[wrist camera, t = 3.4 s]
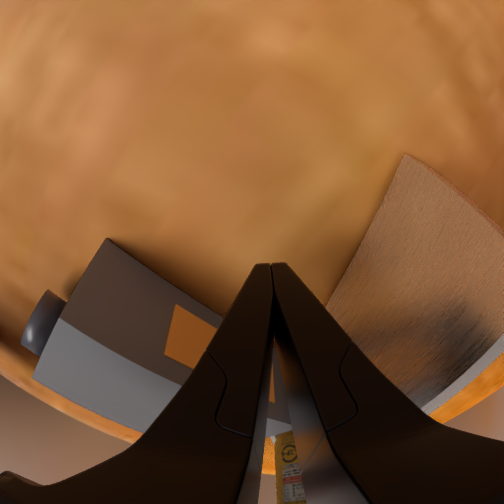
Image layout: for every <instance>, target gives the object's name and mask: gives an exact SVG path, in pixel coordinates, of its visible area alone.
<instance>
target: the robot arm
mask: <svg viewBox="0 0 504 504" xmlns="http://www.w3.org/2000/svg"><path fill="white" fill-rule="evenodd" d="M274 338H275V344H276V350H277V355H278V360H279V365H280V370H281V375H282V380H283V385H284V390H285V395H286V400H287V405H288V410H289V415H290V420H291V426H292V431H293V436H294V441H295V446H296V451H297V456H298V462H299V467H300V472H301V477H302V483H303V488H304V493H305V498H306V504H504V441H500V440H495V439H491V438H487V437H483V436H479V435H476V434H472V433H468V432H465V431H461V430H458V429H454V428H451V427H448V426H445V425H443V424H441V423H439V422H437V421H435V420H434V419H432V418H431V417H430V416H428V415H427V414H426V413H425V412H423V411H422V410H421V409H420V408H419V407H418V406H417V405H416V404H415V403H414V402H413V401H412V400H410V399H409V398H408V397H407V396H406V395H405V394H404V393H403V392H402V391H401V390H400V389H399V388H398V387H397V386H395V385H394V384H393V383H392V382H391V381H390V380H389V379H388V378H387V377H386V376H385V375H384V374H383V373H382V372H381V371H380V370H379V369H378V368H377V367H376V366H375V365H374V364H373V363H372V362H371V361H370V359H369V358H368V357H367V356H366V355H365V354H364V353H363V352H362V351H361V349H360V348H359V347H358V346H357V345H356V343H355V342H352V339H351V338H350V336H349V335H348V334H347V333H346V332H345V331H344V329H343V328H342V327H341V326H340V325H339V323H338V322H337V321H336V320H335V319H334V318H333V316H332V315H331V314H330V313H329V312H328V311H327V309H326V308H325V307H324V306H323V305H322V304H321V303H320V301H319V300H318V299H317V298H316V297H315V296H314V294H313V293H312V292H311V291H310V290H309V289H308V287H307V286H306V285H305V284H304V283H303V282H302V281H301V279H300V278H299V277H298V276H297V275H296V274H295V273H294V271H293V270H292V269H291V268H290V267H289V266H288V265H287V263H285V262H280V263H272V264H271V265H270V264H269V263H261V264H256V265H255V266H254V267H253V269H252V271H251V273H250V274H249V276H248V278H247V279H246V281H245V283H244V285H243V286H242V288H241V290H240V291H239V293H238V295H237V297H236V298H235V300H234V302H233V303H232V305H231V307H230V309H229V310H228V312H227V314H226V315H225V317H224V319H223V321H222V322H221V324H220V326H219V327H218V329H217V331H216V333H215V334H214V336H213V338H212V339H211V341H210V343H209V344H208V346H207V348H206V351H204V353H203V354H202V356H201V358H200V359H199V361H198V363H197V364H196V366H195V368H194V369H193V371H192V372H191V374H190V375H189V377H188V378H187V380H186V381H185V383H184V384H183V385H182V387H181V388H180V389H179V391H178V392H177V393H176V394H175V396H174V397H173V398H172V400H171V401H170V402H169V403H168V404H167V406H166V407H165V408H164V409H163V411H162V412H161V413H160V414H159V416H158V417H157V418H156V419H155V420H154V422H153V423H152V424H151V425H150V427H149V428H148V429H147V430H146V431H145V433H144V434H143V435H142V436H141V437H140V438H139V439H138V440H137V441H136V442H135V443H134V444H133V445H132V446H130V447H129V448H128V449H126V450H125V451H123V452H122V453H120V454H118V455H116V456H114V457H112V458H110V459H108V460H106V461H104V462H102V463H100V464H98V465H96V466H94V467H92V468H90V469H87V470H85V471H83V472H81V473H79V474H76V475H74V476H72V477H70V478H67V479H65V480H62V481H60V482H57V483H54V484H51V485H45V486H43V485H41V484H38V483H36V482H34V481H31V480H29V479H27V478H24V477H22V476H20V475H17V474H15V473H13V472H10V471H5V472H3V473H1V474H0V504H258V496H259V487H260V480H261V471H262V463H263V454H264V444H265V435H266V425H267V415H268V404H269V394H270V383H271V371H272V359H273V346H274Z"/></svg>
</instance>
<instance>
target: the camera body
mask: <svg viewBox="0 0 504 504" xmlns="http://www.w3.org/2000/svg"><path fill="white" fill-rule="evenodd" d="M223 319H224V318H223V317H222V316H220V315H219V314H217V313H215V312H214V311H212V310H211V309H209V308H207V307H206V306H204V305H203V304H201V303H199V302H198V301H196V300H195V299H193V298H192V297H190V296H189V295H187V294H186V293H184V292H182V291H181V290H179V289H178V288H176V287H175V286H173V285H172V284H170V283H169V282H167V281H166V280H164V279H163V278H161V277H160V276H159V275H157V274H156V273H154V272H153V271H151V270H150V269H148V268H147V267H145V266H144V265H143V264H141V263H140V262H138V261H137V260H136V259H134V258H133V257H131V256H130V255H129V254H127V253H126V252H124V251H123V250H122V249H120V248H119V247H117V246H116V245H115V244H113V243H112V242H111V241H109V240H108V239H107V238H106V239H105V240H104V242H103V243H102V245H101V246H100V248H99V250H98V251H97V253H96V254H95V256H94V257H93V259H92V261H91V262H90V264H89V265H88V267H87V269H86V270H85V272H84V274H83V275H82V277H81V279H80V281H79V282H78V284H77V286H76V287H75V289H74V291H73V293H72V294H71V296H70V298H69V300H68V302H65V301H64V300H62V299H61V298H60V297H58V296H57V295H55V294H54V293H53V292H51V291H50V290H49V289H48V290H47V291H46V292H45V293H44V295H43V296H42V298H41V299H40V301H39V303H38V304H37V306H36V308H35V310H34V311H33V313H32V315H31V317H30V319H29V321H28V324H27V326H26V328H25V330H24V333H23V336H22V338H21V342H20V344H21V345H23V346H24V347H26V348H27V349H29V350H30V351H31V352H33V353H34V354H36V355H37V356H39V357H40V359H39V362H38V364H37V366H36V369H35V371H34V374H33V376H32V378H33V379H35V380H36V381H38V382H39V383H41V384H43V385H44V386H46V387H47V388H49V389H51V390H53V391H54V392H56V393H58V394H60V395H61V396H63V397H65V398H67V399H69V400H70V401H72V402H74V403H76V404H78V405H80V406H82V407H84V408H86V409H88V410H90V411H92V412H94V413H96V414H99V415H101V416H103V417H105V418H107V419H110V420H112V421H114V422H116V423H119V424H121V425H124V426H126V427H129V428H131V429H134V430H136V431H139V432H142V433H145V431H146V430H147V429H148V428H149V427H150V425H151V424H152V423H153V422H154V420H155V419H156V418H157V417H158V416H159V414H160V413H161V412H162V411H163V409H164V408H165V407H166V406H167V404H168V403H169V402H170V401H171V400H172V398H173V397H174V396H175V394H176V393H177V392H178V391H179V389H180V388H181V387H182V385H183V384H184V383H185V381H186V380H187V378H188V377H189V375H190V374H191V372H192V371H193V369H194V368H195V366H196V364H197V363H198V361H199V359H200V358H201V356H202V354H203V353H204V351H206V348H207V346H208V344H209V343H210V341H211V339H212V338H213V336H214V334H215V333H216V331H217V329H218V327H219V326H220V324H221V322H222V321H223ZM290 430H292V426H291V420H290V415H289V410H288V405H287V400H286V395H285V390H284V385H283V380H282V375H281V370H280V365H279V360H278V355H277V350H276V348H274V347H273V359H272V371H271V383H270V394H269V404H268V415H267V425H266V435H265V438H267V437H271V436H274V435H278V434H281V433H284V432H287V431H290Z"/></svg>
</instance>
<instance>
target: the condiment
mask: <svg viewBox="0 0 504 504" xmlns="http://www.w3.org/2000/svg"><path fill="white" fill-rule="evenodd" d="M270 438H271V440H272V442H273V443H274V445H275V470H276V486H277V487H276V488H277V504H306V498H305V493H304V488H303V483H302V477H301V472H300V467H299V462H298V456H297V451H296V446H295V441H294V436H293V431H292V430H290V431H287V432H284V433H281V434H278V435H274V436H271V437H270Z"/></svg>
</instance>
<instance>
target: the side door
mask: <svg viewBox="0 0 504 504" xmlns="http://www.w3.org/2000/svg"><path fill="white" fill-rule="evenodd" d="M325 308H326V309H327V311H328V312H329V313H330V314H331V315H332V316H333V318H334V319H335V320H336V321H337V322H338V323H339V325H340V326H341V327H342V328H343V329H344V331H345V332H346V333H347V334H348V335H349V336H350V338H351V339H352V342H355V343H356V345H357V346H358V347H359V348H360V349H361V351H362V352H363V353H364V354H365V355H366V356H367V357H368V358H369V359H370V361H371V362H372V363H373V364H374V365H375V366H376V367H377V368H378V369H379V370H380V371H381V372H382V373H383V374H384V375H385V376H386V377H387V378H388V379H389V380H390V381H391V382H392V383H393V384H394V385H395V386H397V387H398V388H399V389H400V390H401V391H402V392H403V393H404V394H405V395H406V396H407V397H408V398H409V399H410V400H412V401H413V402H414V403H415V404H416V405H417V406H418V407H419V408H420V409H421V410H422V411H423V412H425V413H426V414H427V415H429V414H430V413H432V412H433V411H434V410H436V409H437V408H439V407H440V406H441V405H443V404H444V403H445V402H447V401H448V400H449V399H451V398H452V397H453V396H454V395H456V394H457V393H458V392H459V391H461V390H462V389H463V388H464V387H465V386H467V385H468V384H469V383H470V382H471V381H472V380H474V379H475V378H476V377H477V376H478V375H479V374H480V373H481V372H483V371H484V370H485V369H486V368H487V367H488V366H489V365H490V364H491V363H492V362H493V361H494V360H495V359H496V358H497V357H498V356H499V355H500V354H501V353H502V352H503V351H504V231H503V230H502V229H501V228H500V227H499V226H498V225H497V224H496V223H495V222H494V221H493V220H492V219H491V218H490V217H489V216H488V215H487V214H486V213H485V212H484V211H483V210H481V209H480V208H479V207H478V206H477V205H476V204H475V203H474V202H472V201H471V200H470V199H469V198H468V197H467V196H465V195H464V194H463V193H462V192H461V191H459V190H458V189H457V188H456V187H455V186H453V185H452V184H451V183H450V182H448V181H447V180H446V179H444V178H443V177H442V176H440V175H439V174H438V173H437V172H435V171H434V170H433V169H431V168H430V167H428V166H427V165H426V164H424V163H423V162H421V161H419V160H417V159H415V158H413V157H411V156H409V155H406V154H404V155H403V157H402V160H401V162H400V164H399V167H398V169H397V171H396V173H395V176H394V178H393V180H392V182H391V184H390V187H389V189H388V191H387V193H386V195H385V197H384V199H383V201H382V203H381V205H380V207H379V209H378V212H377V214H376V216H375V218H374V220H373V221H372V223H371V225H370V227H369V229H368V231H367V233H366V235H365V237H364V239H363V241H362V243H361V245H360V246H359V248H358V250H357V252H356V254H355V256H354V258H353V259H352V261H351V263H350V265H349V267H348V268H347V270H346V272H345V274H344V275H343V277H342V279H341V281H340V282H339V284H338V286H337V288H336V289H335V291H334V293H333V294H332V296H331V298H330V299H329V301H328V303H327V304H326V306H325Z"/></svg>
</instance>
